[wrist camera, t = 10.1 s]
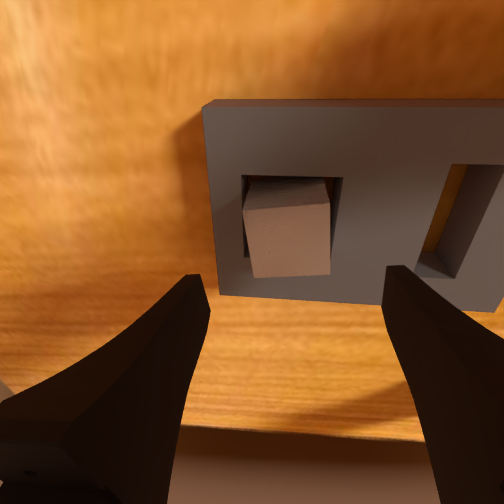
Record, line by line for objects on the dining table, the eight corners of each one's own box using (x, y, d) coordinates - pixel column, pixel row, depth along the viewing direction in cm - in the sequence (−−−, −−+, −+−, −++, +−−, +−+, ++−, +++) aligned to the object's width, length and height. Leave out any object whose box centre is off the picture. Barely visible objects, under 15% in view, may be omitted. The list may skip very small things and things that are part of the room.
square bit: (319, 162, 18) (329, 203, 13) (320, 220, 20) (330, 274, 15) (254, 169, 19) (242, 210, 14) (262, 225, 21) (254, 277, 16)
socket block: (563, 98, 15) (616, 107, 13) (470, 283, 22) (494, 312, 19) (214, 99, 17) (201, 107, 14) (227, 269, 24) (219, 294, 21)
